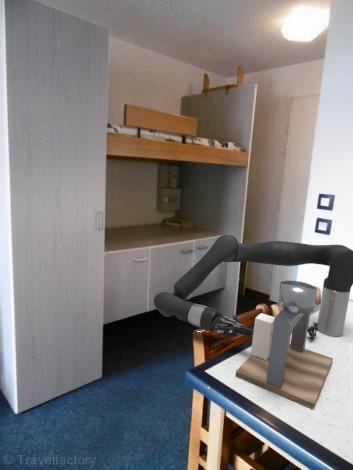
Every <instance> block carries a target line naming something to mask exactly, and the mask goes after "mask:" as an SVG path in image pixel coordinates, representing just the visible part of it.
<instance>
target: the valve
mask: <svg viewBox="0 0 353 470" xmlns="http://www.w3.org/2000/svg"><path fill="white" fill-rule="evenodd" d="M312 324H313V325H311V326H308V331H307V335H309V340H311V341H315V338H316V337H317V331H319V330H318V328H317V326H318V323H317V322H315V321H313V323H312ZM291 333H292V331H291Z"/></svg>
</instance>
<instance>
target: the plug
mask: <svg viewBox="0 0 353 470" xmlns="http://www.w3.org/2000/svg"><path fill="white" fill-rule="evenodd" d="M275 317H276V316H272V315H268V314H266V313H262V312H261V313H259V314H257V316H255V318H254V324H253V325H254V326H253V335H252V341H251V351H250V356H251V355H254V356H256V357H259V358H262V359H264V360H267V359H268V358H269V355H270V348H271V340H272V333H273V325H274V318H275Z"/></svg>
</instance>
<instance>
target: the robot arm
mask: <svg viewBox="0 0 353 470" xmlns="http://www.w3.org/2000/svg"><path fill="white" fill-rule="evenodd" d="M247 262H248V263H256V264H264V265H273V266H283V267H284V266H285V267H295V266H302V265H310V264H312V265H321V266H328V267H329V269H328V274H327V277H326V278H324V281H323V284H322V291H321V298H320V304H319V310H318V316H317V317H318V318H317V322H316V323H318V326H317V328H318V330H317V331H318V332H320V333H322V334H324V335H327V336H331V337H341V336H343V335H344V328H345V323H346V318H347V313H348V312H347V311H348V308H349V307H348V306H349V302H350V294H351V291H352V287H353V249H351V248H349V247H347V246H346V245H343V244H321V245H320V244H309V243H308V244H307V243H302V242H301V243H300V242H293V241H284V240H283V241H282V240H281V241H280V240H272V241H271V240H269V241H263V242H257V243H243V242H242V243H241V242H239V241H238V238H237V237H235V236H234V235H232V234H222V235H220V236H219V237H217V239H216V240H215V241H214V243H213V244H212V245H211V246H210V248H209V249H208V250H207V252H205V254H204V255H203V256H202V258H201V259H200V260H198V261H197V262H196V263H195V264H194V265H193V266H192V267H191V268H189V270H188V271H187V272H185V273H184V274H183V275H182V276H181V277H180V278H179V279H178V280H176V282H174V284H173V292H172V293H171V292H166V291H162V292H161V291H160V292H158V293H157V294H156V295H155V296H154V298H153V306H154V308H155V309H156V310H158V312H159V313H160V314H161V315H162V316H163V317H168V318H170V317H173V316H175V317H176V318H177V319H179V320H181V321H183V322H186V323H188V324H191V325H193V326H194V327H197V328H200V329H203V330H205V331H208V332H212V333H214V332H216V331H217V332H216V334H217V336H226V337H227V336H231V337H232V336H233V337H234V336H235V337H236V336H237V335H243V336H246V337H249V338H251V337H253V332H254V328H250V327H247V326H245V325H244V322H243V321H242V320H241V319H240V318H239V317H238V316H237V315H232V317H229V316H225V315H222V313H221V311H220V310H219V309H216V308H213V307H210V306H206V305H203V304H198V303H195V302H192V301H188V300H187V299H188V298H189V296H190V295H192V294H193V293H194V292H195V291H196V290H197V289H199V287H200V286H201V285H202V283H204V282H205V280H206V279H207V278H208V276H209V275H210V274H212V272H213V271H214V270H215V269H216V268H217V267H218V266H219V265H220V264H221V263H247Z"/></svg>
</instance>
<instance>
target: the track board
mask: <svg viewBox="0 0 353 470" xmlns="http://www.w3.org/2000/svg"><path fill="white" fill-rule="evenodd" d="M333 361H334V358H333V357H330V356H327V355H326V354H325V355H324V354H321V353H318V352H316V351H312V350H309V349H306V348H305V350H304V351H303V353H300V352H297V351H295V350H292V349H290V345H289V352H288V359H287V366H286V373H285V380H284V384H283V386H282V387H281V389H280V388H278V387H275V386H273V385H270V384H268V383H266V378H267V370H268V363H269V358H268V359H267V360H264V359H262V358H259V357H256V356H254V355H251V354H250V355H249V357H248V358H247V359H246V360H245V361H244V362H243V363H242V364H241V365H240V366H239V368H238V369H236V371H235V377H237V378H239V379H241V380H244V381H246V382H249V384H253V385H255V386H257V387H259V388H263V389H265V390H267V391H270V392H272V393H274V394H276V395H279V396H281V397H283V398H286V399H288V400H291V401H292V402H295V403H298V404H300V405H303V406H304V407H307V408H309V409H311V410H314V409H315V407H316V404H317V401H318V399H319V396H320V394H321V392H322V389H323V387H324V384H325V381H326V379H327V377H328V375H329V371H330V370H331V366H332V365H333Z"/></svg>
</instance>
